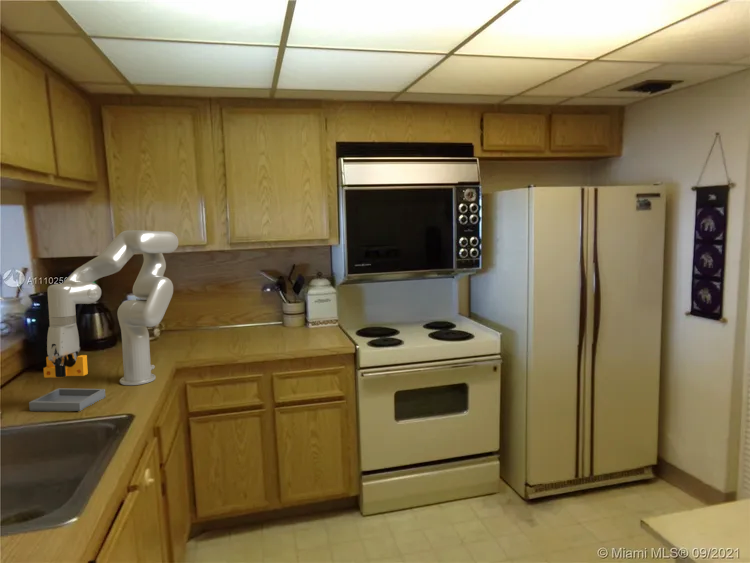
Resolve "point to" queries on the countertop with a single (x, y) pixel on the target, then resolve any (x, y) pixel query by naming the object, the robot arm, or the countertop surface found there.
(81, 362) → the pipe clamp
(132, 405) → the countertop surface
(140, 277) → the robot arm
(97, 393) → the parts tray
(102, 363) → the countertop surface
